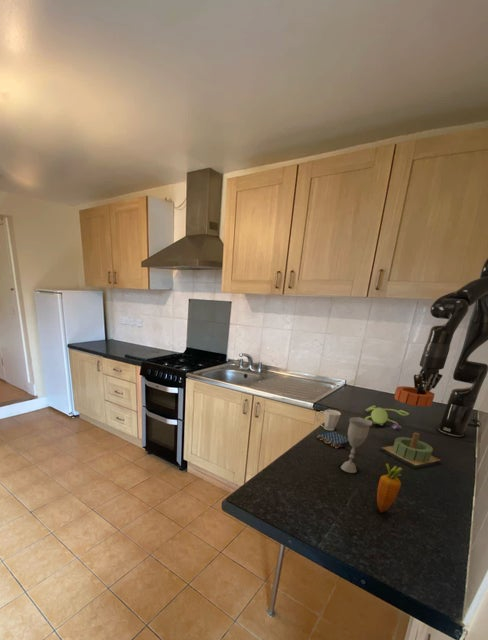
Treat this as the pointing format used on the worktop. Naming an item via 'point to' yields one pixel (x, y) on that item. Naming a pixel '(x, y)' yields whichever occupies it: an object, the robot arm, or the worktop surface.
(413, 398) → the orange ring
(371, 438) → the worktop surface
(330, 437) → the woven mat
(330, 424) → the cup
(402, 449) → the green ring
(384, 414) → the figurine
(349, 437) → the chalice
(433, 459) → the ring stand
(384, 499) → the carrot
